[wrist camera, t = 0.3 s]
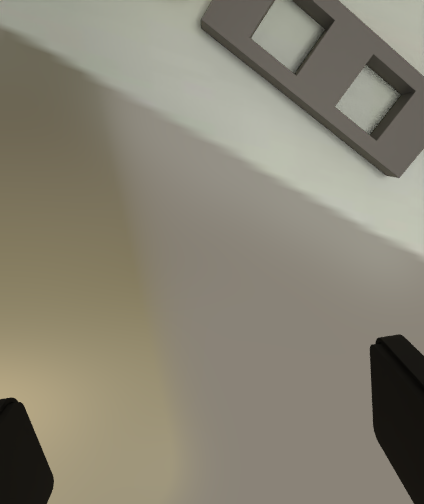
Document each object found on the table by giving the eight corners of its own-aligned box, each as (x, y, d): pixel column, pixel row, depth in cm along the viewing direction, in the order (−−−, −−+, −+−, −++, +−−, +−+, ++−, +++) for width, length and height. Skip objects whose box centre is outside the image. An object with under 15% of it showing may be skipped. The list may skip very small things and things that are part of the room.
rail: (252, -57, 31) (256, -74, 28) (440, 109, 35) (458, 107, 33) (201, 28, 33) (201, 19, 30) (386, 175, 37) (399, 177, 35)
